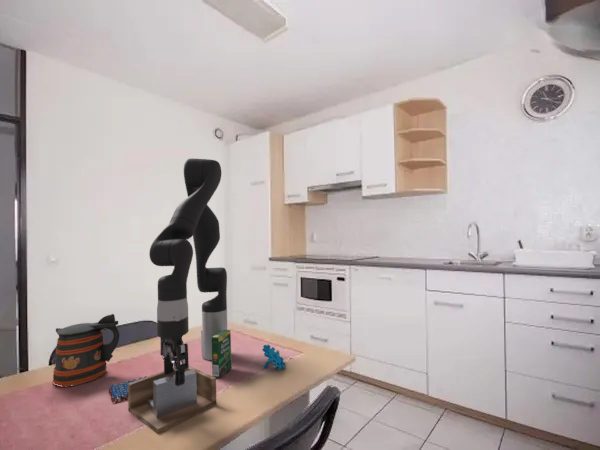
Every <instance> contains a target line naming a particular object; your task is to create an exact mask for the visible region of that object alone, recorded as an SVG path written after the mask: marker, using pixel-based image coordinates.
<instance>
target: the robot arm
mask: <svg viewBox="0 0 600 450" xmlns="http://www.w3.org/2000/svg"><path fill="white" fill-rule="evenodd" d="M183 177H184V178H183V180H184V184H185V189H186V195H187V197H186V198H185V199H183V201H181V202H180V203H179V204H178V206H177V207H176V208H175V210H174V212H173V214H172V217H170V218H171V219H170V221H169V223H168V224H167V225H166V227H165V228H163V230H161V232H160V233H159V234H158V235H157V236H156V238H155V239H154V240H153V241H152V244H151V245H150V248H149V259H150V261H151V263H152V264H153V265H155V266H157V267H173V271H172V273H171V274H168V275H167V274H166V275H163V276H161V277H159V278H158V280H157V307H156V315H157V316H156V320H157V321H156V323H157V326H156V329H157V333H156V334H157V336H158V337H159V339H160V352H159V353H160V356H162V360H163V371H164V373H165V374H166V375H167V374H170V373H172V372H173V368H174V369H175V385H176V386H179V385H182V384H184V383H185V369H187V368H189V366H190V364H189V346H188V343H186V342H184V341H183V337H184V335H187V334H188V332H189V329H190V328H189V303H188V290H187V289H188V287H187V286H188V285H187V283H188V277H189V273H190V267H191V265H192V261H193V257H194V253H195V265H196V266H195V267H196V285H197V289H198V291H199V292H200V293H217V295H216V296H214V297H213V298H211V299H208V300H207V301H204V302H203V303H202V305H201V325H202V326H201V327H202V329H201V331H200V333H201V340H200V341H201V356H202V358H203V359H204V360H207V361H208V360H209V361H212V337H213V336H215V335H216V334H218V333H220V332H221V331H223V330H228V303H227V299H228V298H227V297H228V296H227V287H228V273H227V270H226V268H225V267H222V266H221V267H206V266H207V263H208V260H209V259H210V256H211V255H212V254H213V252H214V250H215V249H216V248H217V246H218V245H219V242H220V239H221V236H220V235H221V234H220V222H219V219H218V217H217V215H216V214H215V212H213V210H212V209H211V207H209V205H208V203H209V202H210V201H211V199H212V197H213V195H214V194H215V192H216V190H217V189H218V187H219V185H220V182H221V179H222V168H221V164H220V162H219V161H217V160H215V159H207V158H206V159H205V158H187V159H186V160H185V162H184V165H183ZM191 238H193V245H194V248H193V245H192V243H191V242H190V241H188V240H189V239H191Z"/></svg>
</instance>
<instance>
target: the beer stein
mask: <svg viewBox="0 0 600 450" xmlns="http://www.w3.org/2000/svg"><path fill="white" fill-rule="evenodd" d="M117 325H119V320H116V315H115V314H114V313H111V314H108V315H107V314H106V315H105V316H103V317H101V318H100V319H99V321H98V322H84V323H83V322H82V323H76V324H72V325H69V326H66V327H63V328H57V327H56V328H55V332H56V333H57V335H58V338H57V342H56V347H55V353H56V357H55V366H54V368H53V374H52V376H53V377H52V383H53V382H54V383H55V384H58V385H62V386H71V385H75V386H77V385H76V384H79V385H82V384H81V383H83V384H86V383H89V381H90V382H92V381H95V380H97V379H98V378H101V377H102V376H103V375H105V374H106V371H107V368H108V367H107V364H108V363H107V362H110V361H111V359H112V358H113V357H114V355H113V353H114V351H115V349H116V348H117V345H119V341H120V332H119V329H118V327H117ZM105 329H106V330H110V331H111V332H112V333H113V338H112V341H110V342H108V343H105V339H104V336H103V330H105ZM85 382H86V383H85Z"/></svg>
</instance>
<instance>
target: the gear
mask: <svg viewBox="0 0 600 450" xmlns="http://www.w3.org/2000/svg"><path fill="white" fill-rule="evenodd" d="M261 350H262V351H263V352H264V353H263V356H264V357H265V358H267V361H266V362H265V363H264V364H263V366H262V367H263V369H266V368H267V367H268V366H269V365H270V364H271V363H272V366H273V367H274V368H276V367H277V369H278V370H279V371H281V370H284V369H285V368H286V366H285V365H286V362H284V358H283V356H281V354H280V350H278V349H277V350H276V349H275V347H274V346H272V347H271V345H270V344H264V345H263V346H262V349H261Z"/></svg>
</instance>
